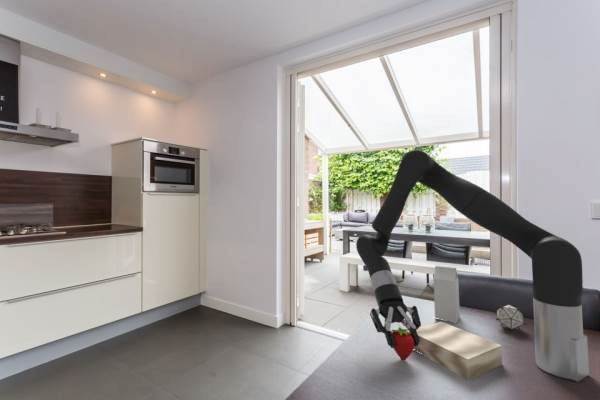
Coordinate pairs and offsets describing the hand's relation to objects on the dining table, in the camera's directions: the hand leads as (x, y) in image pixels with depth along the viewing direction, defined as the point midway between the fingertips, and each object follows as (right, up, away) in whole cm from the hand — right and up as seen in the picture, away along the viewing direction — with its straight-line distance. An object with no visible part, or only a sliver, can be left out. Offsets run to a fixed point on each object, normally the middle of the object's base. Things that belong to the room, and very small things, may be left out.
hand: (405, 345), depth 77 cm
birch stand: (+15, -4, +3) cm, 16 cm away
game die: (+42, -4, +19) cm, 47 cm away
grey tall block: (+26, -5, +29) cm, 40 cm away
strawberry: (0, -5, +2) cm, 5 cm away
